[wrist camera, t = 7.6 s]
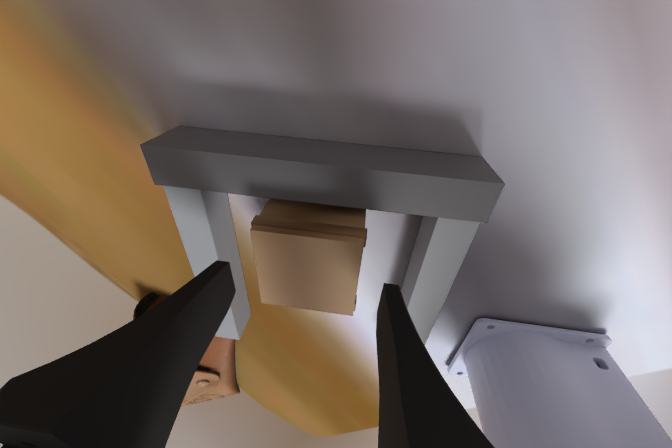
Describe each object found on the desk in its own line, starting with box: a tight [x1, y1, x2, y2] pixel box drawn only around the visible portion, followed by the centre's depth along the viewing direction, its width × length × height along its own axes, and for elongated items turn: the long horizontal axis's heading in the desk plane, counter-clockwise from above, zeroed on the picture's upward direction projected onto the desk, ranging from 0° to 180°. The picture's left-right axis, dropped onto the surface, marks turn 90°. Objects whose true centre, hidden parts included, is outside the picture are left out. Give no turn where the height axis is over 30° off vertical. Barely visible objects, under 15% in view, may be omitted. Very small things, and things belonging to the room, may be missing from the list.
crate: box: [250, 198, 367, 316], centre depth 15 cm, size 5×5×5 cm
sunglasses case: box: [133, 292, 240, 407], centre depth 28 cm, size 18×7×7 cm, turn 169°
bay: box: [140, 126, 505, 345], centre depth 18 cm, size 16×16×3 cm
